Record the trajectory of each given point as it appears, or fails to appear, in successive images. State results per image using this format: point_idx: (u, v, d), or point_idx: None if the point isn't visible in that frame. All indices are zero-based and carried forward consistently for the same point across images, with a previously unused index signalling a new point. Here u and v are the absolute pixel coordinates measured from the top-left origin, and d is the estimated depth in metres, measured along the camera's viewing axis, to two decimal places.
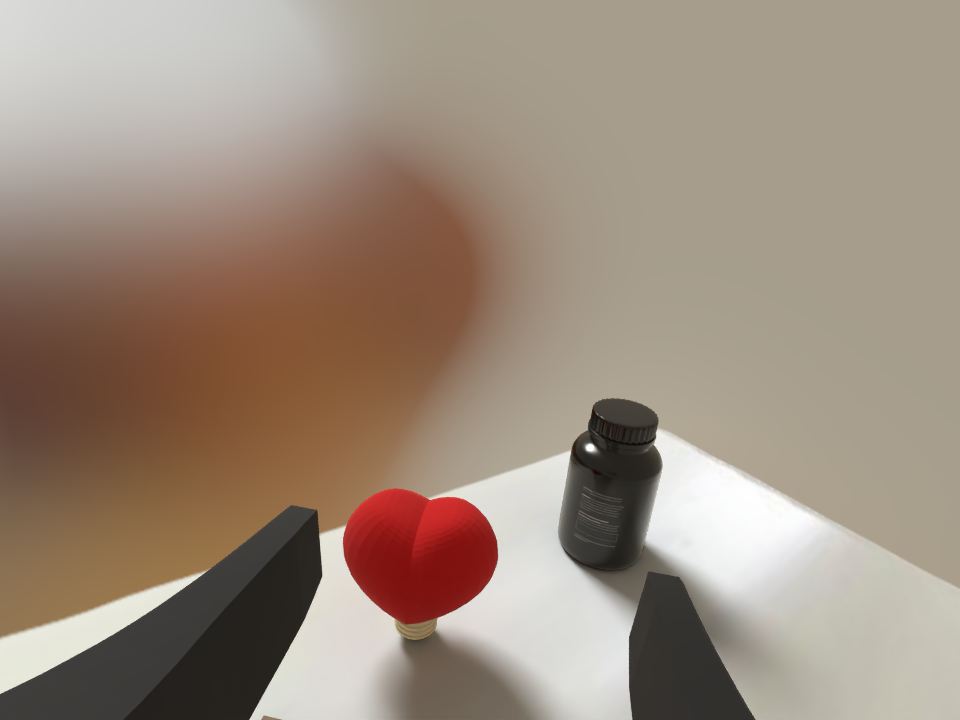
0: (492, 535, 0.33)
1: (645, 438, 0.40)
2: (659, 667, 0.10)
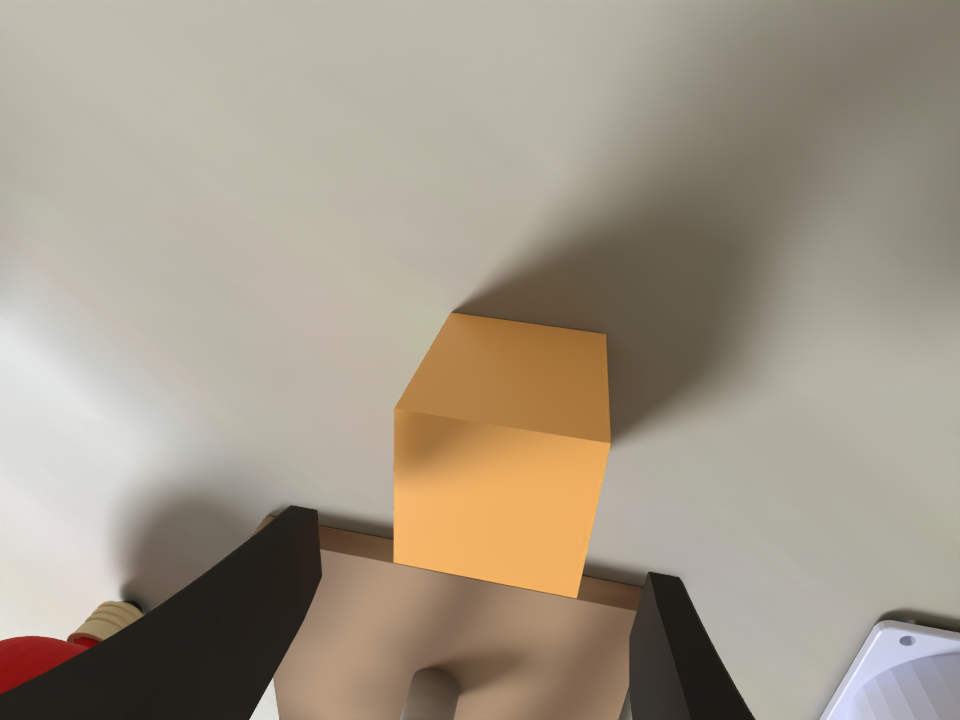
0: None
1: None
2: (659, 668, 0.10)
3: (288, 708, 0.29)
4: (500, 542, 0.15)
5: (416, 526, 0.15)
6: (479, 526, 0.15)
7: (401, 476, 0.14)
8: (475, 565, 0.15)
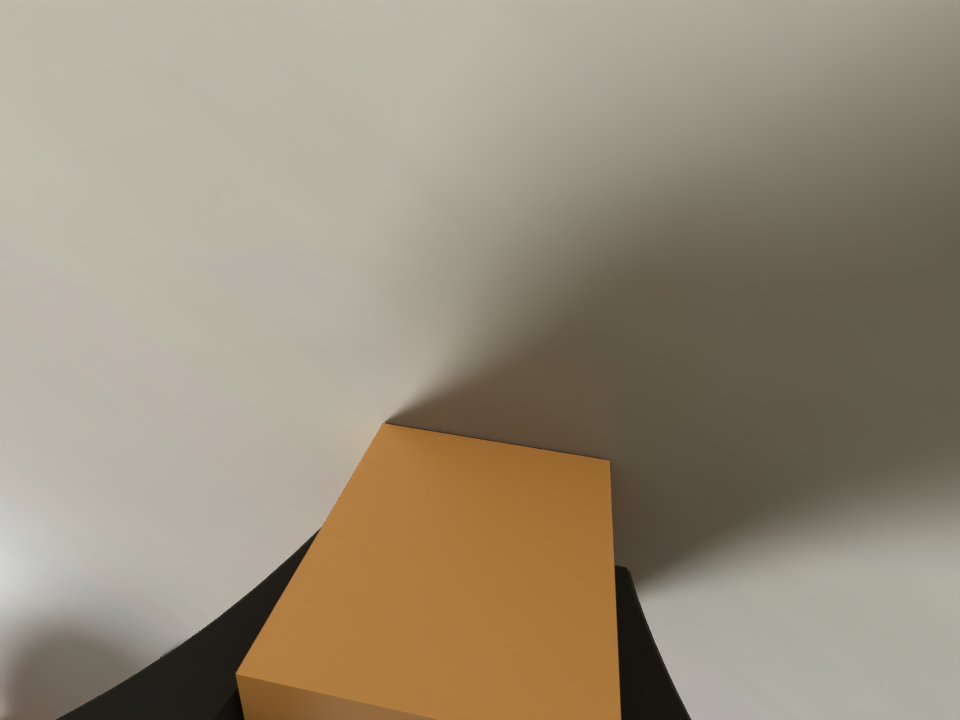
0: None
1: None
2: None
3: None
4: None
5: None
6: None
7: None
8: None
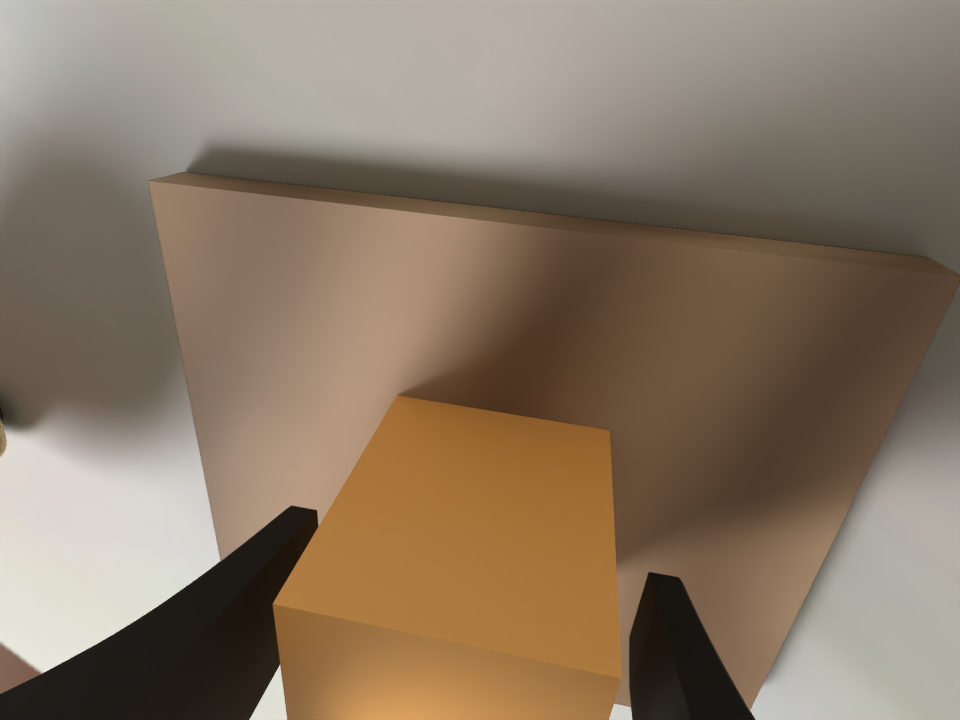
0: None
1: None
2: (659, 667, 0.10)
3: None
4: None
5: None
6: None
7: (294, 690, 0.09)
8: None
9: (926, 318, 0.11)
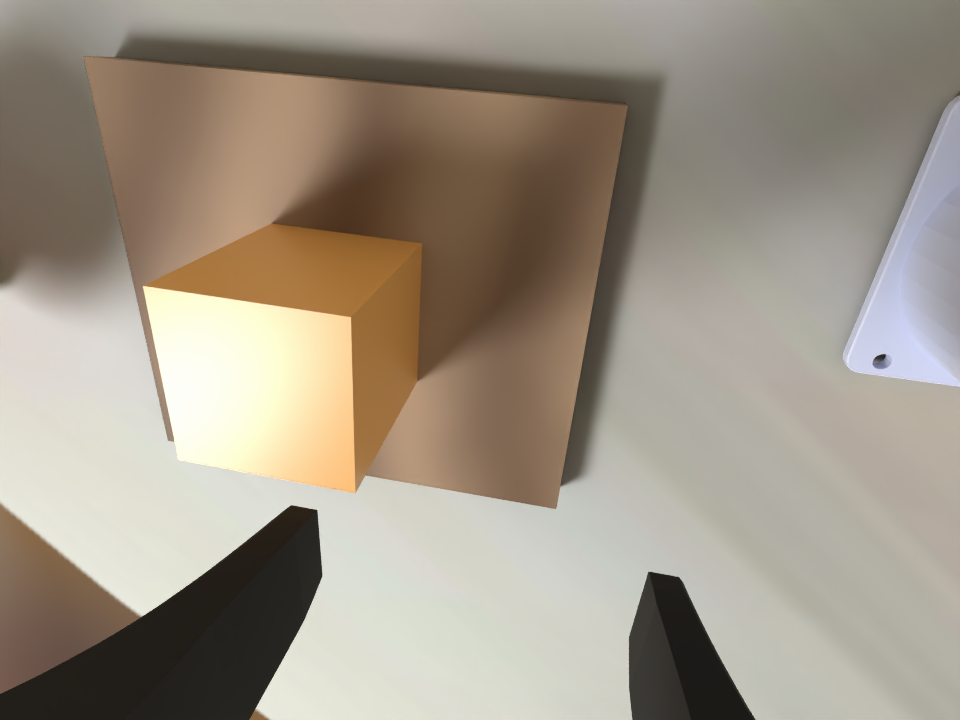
0: None
1: None
2: (659, 667, 0.10)
3: None
4: (272, 432, 0.14)
5: (191, 418, 0.15)
6: (249, 415, 0.14)
7: (165, 362, 0.14)
8: (254, 459, 0.15)
9: (612, 139, 0.16)
